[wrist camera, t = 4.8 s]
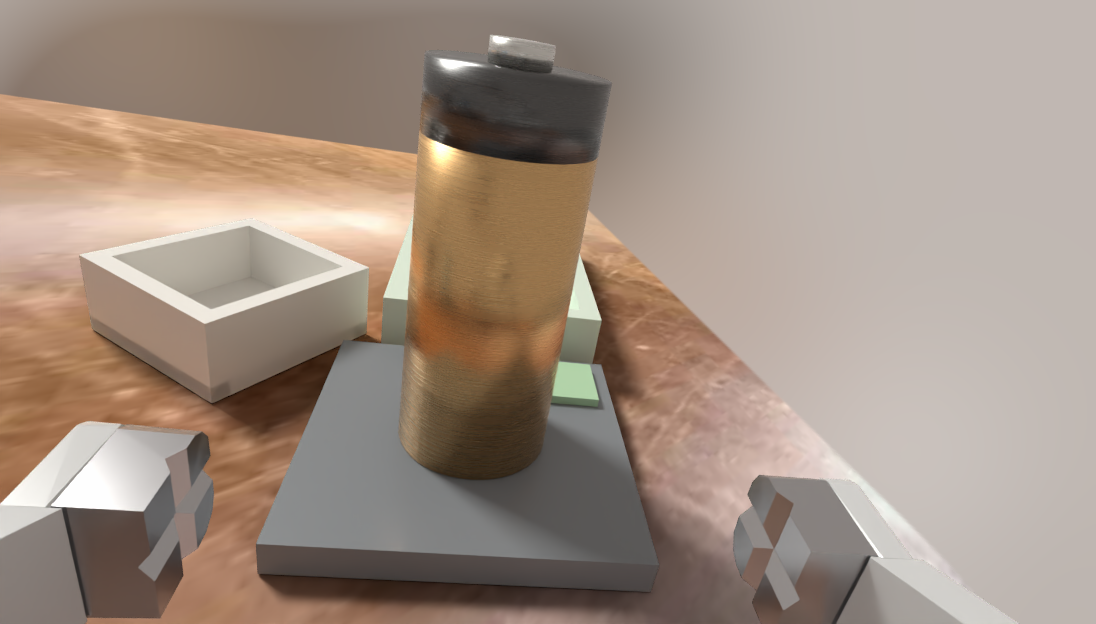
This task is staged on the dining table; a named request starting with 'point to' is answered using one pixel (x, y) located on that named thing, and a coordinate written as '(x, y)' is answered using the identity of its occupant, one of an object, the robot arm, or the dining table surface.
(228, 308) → the small white open box
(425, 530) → the grey square pad
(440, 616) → the dining table surface
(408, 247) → the pale green tray
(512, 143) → the cell
